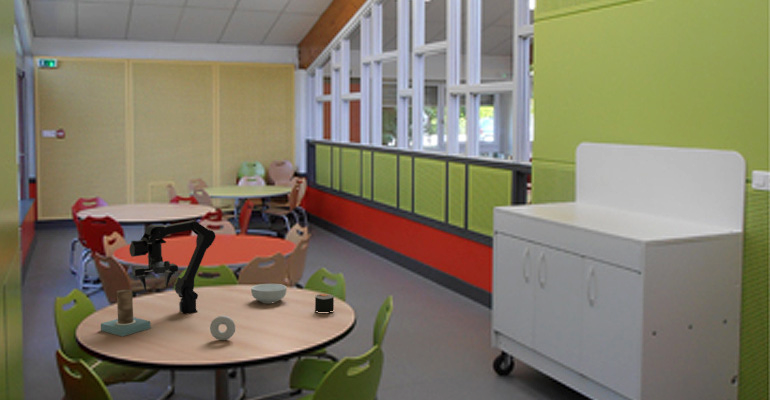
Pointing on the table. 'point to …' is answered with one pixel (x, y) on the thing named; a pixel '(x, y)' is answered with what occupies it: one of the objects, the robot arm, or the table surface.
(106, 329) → the plinth
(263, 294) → the cereal bowl
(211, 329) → the donut
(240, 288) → the table surface
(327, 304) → the sushi
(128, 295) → the walnut post
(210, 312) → the table surface
